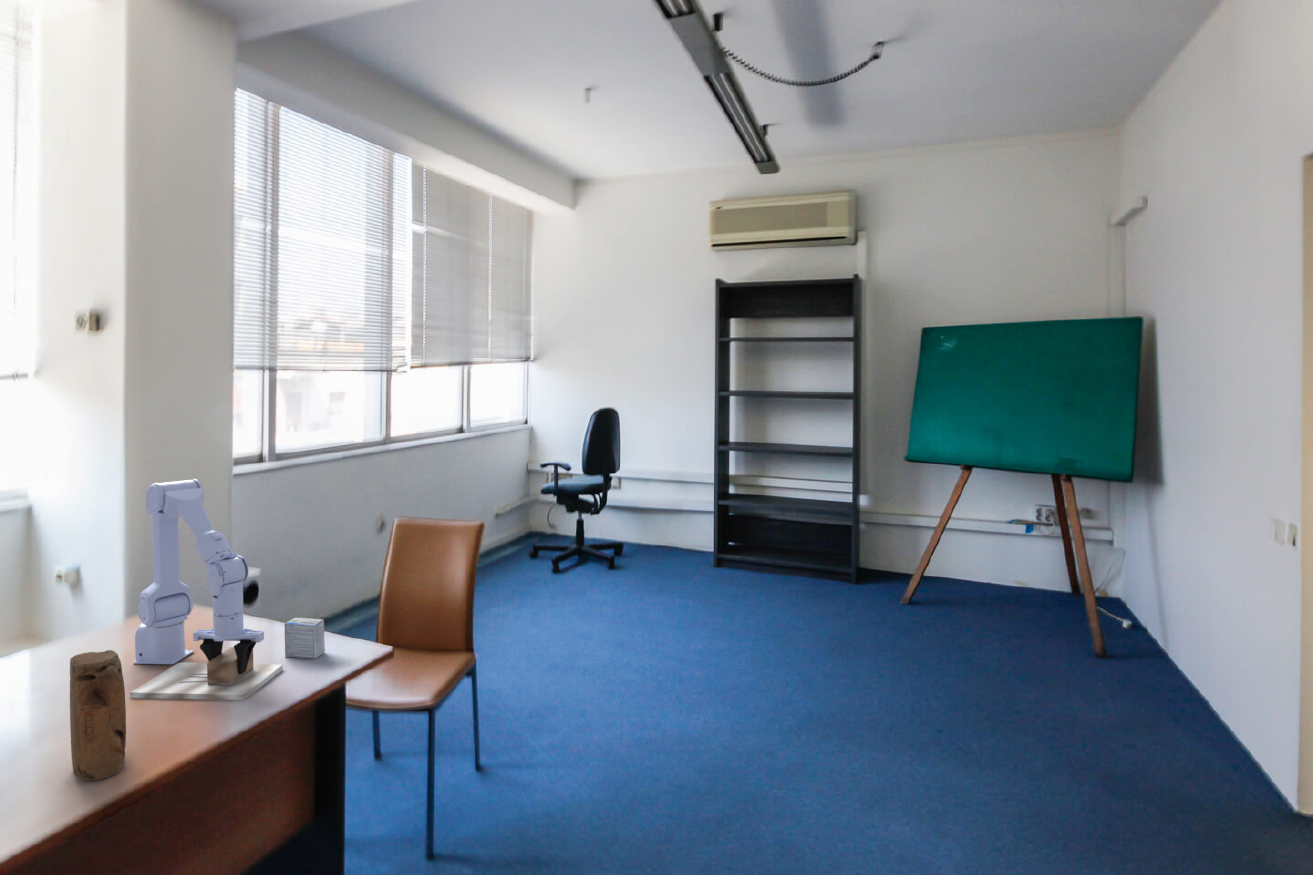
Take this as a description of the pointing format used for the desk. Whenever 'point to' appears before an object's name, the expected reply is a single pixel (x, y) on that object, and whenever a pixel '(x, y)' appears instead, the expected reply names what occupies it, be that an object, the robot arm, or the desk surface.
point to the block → (97, 714)
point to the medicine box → (304, 638)
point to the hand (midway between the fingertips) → (229, 672)
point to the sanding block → (226, 668)
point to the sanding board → (203, 683)
